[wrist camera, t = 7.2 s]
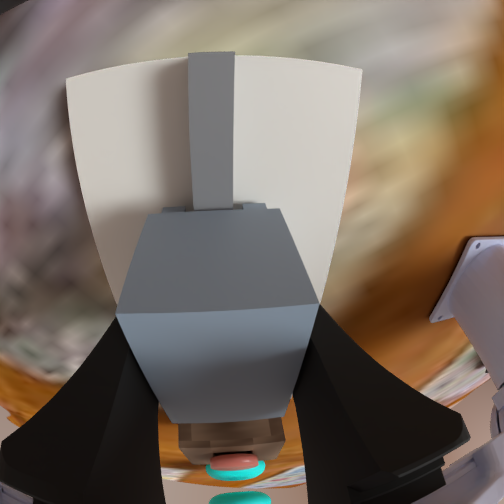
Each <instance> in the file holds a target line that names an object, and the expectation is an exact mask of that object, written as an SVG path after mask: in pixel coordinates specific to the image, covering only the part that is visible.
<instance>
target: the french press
mask: <svg viewBox="0 0 504 504" xmlns="http://www.w3.org/2000/svg"><path fill="white" fill-rule="evenodd" d="M26 1H28V0H0V15H1V14H2V13H4V12H6V11H8V10H10V9H12V8H14V7H16V6H18V5H20V4H22V3H24V2H26Z"/></svg>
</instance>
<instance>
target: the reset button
mask: <svg viewBox="0 0 504 504" xmlns="http://www.w3.org/2000/svg"><path fill="white" fill-rule="evenodd" d="M258 465H259V464H258V457H257V455H254V454H227V455H220V456H215V457H212V458H211V459H210V466H211V469H214V470H220V471H236V470H245V469H250V468H254V467H256V466H258Z"/></svg>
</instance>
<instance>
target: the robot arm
mask: <svg viewBox="0 0 504 504" xmlns="http://www.w3.org/2000/svg"><path fill="white" fill-rule="evenodd" d="M453 317H455V319H456V320H457V322H458V323H459V325H460V327H461V328H462V330H463V331H464V333H465V334H466V336H467V337H468V339H469V341H470V342H471V344H472V345H473V347H474V349H475V350H476V352H477V354H478V355H479V357H480V359H481V361H482V362H483V364H484V366H485V367H486V369H487V371H488V373H489V375H490V377H491V378H492V380H493V382H494V384H495V386H496V388H497V390H499V391H498V392H497V393H496V394H495V395H494V396H493V397H492V399H493V401H494V406H493V409H492V413H491V421H490V431H491V438H492V439H491V440H490V441H489V442H487V443H485V444H484V445H482V446H481V447H479V448H476V449H475V450H473V451H471V452H469V453H468V454H466V455H465V456H463V457H462V458H460V459H458V460H457V461H455V462H454V463H452V464H450V466H449V467H448V468H446V469H445V470H443V471H442V470H441V467H442V466H444V464H445V462H444V459H443V456H444V455H446V454H448V453H450V452H451V451H453V450H455V449H457V448H458V447H460V446H461V445H463V444H464V443H466V442H468V441H469V440H470V435H469V432H468V430H467V427H466V425H465V423H464V421H463V418H462V416H461V414H460V413H458V412H456V411H453V410H451V409H449V408H447V407H445V406H443V405H441V404H439V403H437V402H435V401H433V400H431V399H430V398H428V397H426V396H425V395H423V394H421V393H420V392H418V391H416V390H415V389H413V388H412V387H410V386H409V385H407V384H406V383H404V382H403V381H402V380H400V379H399V378H397V377H396V376H395V375H393V374H392V373H390V372H389V371H388V370H386V369H385V368H384V367H383V366H381V365H380V364H379V363H378V362H376V361H375V360H374V359H373V358H372V357H371V356H369V355H368V354H367V353H366V352H365V351H364V350H363V349H362V348H361V347H360V346H359V345H358V344H356V343H355V342H354V341H353V340H352V339H351V338H350V337H349V336H348V335H347V334H346V333H345V332H344V330H343V329H342V328H341V327H340V326H339V325H338V324H337V323H336V322H335V321H334V320H333V318H332V317H331V316H330V315H329V314H328V313H327V312H326V311H325V309H324V308H323V307H322V306H321V305H320V304H319V307H318V311H317V315H316V318H315V322H314V325H313V329H312V332H311V336H310V339H309V342H308V346H307V349H306V352H305V356H304V359H303V362H302V365H301V368H300V371H299V375H298V378H297V381H296V384H295V387H294V390H293V393H292V395H293V398H294V402H295V406H296V412H297V417H298V423H299V429H300V435H301V442H302V449H303V456H304V464H305V472H306V482H307V492H308V504H497V503H498V502H499V501H500V500H501V499H502V498H503V497H504V236H501V237H473V238H471V239H470V240H469V241H468V243H467V245H466V247H465V249H464V252H463V254H462V256H461V258H460V260H459V262H458V265H457V267H456V269H455V271H454V273H453V275H452V277H451V279H450V281H449V283H448V285H447V287H446V289H445V290H444V292H443V294H442V296H441V298H440V300H439V301H438V303H437V305H436V307H435V308H434V310H433V312H432V314H431V315H430V317H429V320H430V322H431V323H434V322H438V321H442V320H446V319H449V318H453ZM158 404H159V401H158V399H157V397H156V395H155V394H154V392H153V390H152V388H151V386H150V385H149V383H148V381H147V379H146V377H145V375H144V373H143V372H142V370H141V368H140V366H139V364H138V362H137V360H136V358H135V356H134V354H133V352H132V350H131V348H130V345H129V343H128V341H127V339H126V337H125V335H124V333H123V330H122V328H121V326H120V324H119V321H118V319H117V317H115V319H114V320H113V322H112V323H111V325H110V326H109V328H108V329H107V331H106V332H105V334H104V335H103V337H102V338H101V339H100V341H99V342H98V343H97V345H96V346H95V348H94V349H93V350H92V352H91V353H90V354H89V356H88V357H87V358H86V360H85V361H84V362H83V364H82V365H81V366H80V367H79V369H78V370H77V371H76V372H75V373H74V375H73V376H72V377H71V378H70V379H69V380H68V381H67V383H66V384H65V385H64V386H63V387H62V388H61V389H60V390H59V391H58V393H57V394H56V395H55V396H54V397H53V398H52V399H51V400H50V401H49V402H48V403H47V404H46V405H45V406H43V407H42V408H41V409H40V410H39V411H38V412H37V413H36V414H35V415H34V416H33V417H32V418H31V419H30V420H28V421H27V422H26V423H25V424H24V425H22V426H21V427H20V428H18V429H17V430H16V431H15V432H13V433H12V434H11V435H10V436H8V437H7V438H6V439H4V440H3V441H2V443H1V448H0V504H166V502H165V496H164V490H163V484H162V476H161V467H160V456H159V441H158ZM27 495H28V496H27ZM30 496H31V497H30ZM32 497H33V498H32Z"/></svg>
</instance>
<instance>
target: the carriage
mask: <svg viewBox="0 0 504 504" xmlns="http://www.w3.org/2000/svg"><path fill="white" fill-rule="evenodd" d="M319 304H320V303H319V301H318V298H317V296H316V293H315V291H314V288H313V286H312V283H311V281H310V278H309V276H308V274H307V271H306V269H305V266H304V264H303V261H302V259H301V257H300V254H299V252H298V250H297V247H296V245H295V243H294V240H293V238H292V236H291V233H290V231H289V229H288V226H287V224H286V222H285V219H284V217H283V215H282V213H281V210H280V208H274V209H267V207H266V204H265V203H246V204H242V209H238V210H212V211H192V212H186V208H185V206H178V207H163V209H162V212H161V213H158V214H148V216H147V218H146V221H145V224H144V226H143V229H142V232H141V234H140V237H139V240H138V243H137V246H136V248H135V251H134V254H133V257H132V260H131V263H130V266H129V269H128V272H127V275H126V279H125V282H124V285H123V288H122V292H121V295H120V298H119V302H118V305H117V309H116V312H115V314H116V317H117V319H118V321H119V324H120V326H121V328H122V330H123V333H124V335H125V337H126V339H127V341H128V343H129V345H130V348H131V350H132V352H133V354H134V356H135V358H136V360H137V362H138V364H139V366H140V368H141V370H142V372H143V373H144V375H145V377H146V379H147V381H148V383H149V385H150V386H151V388H152V390H153V392H154V394H155V395H156V397H157V399H158V401H159V402H160V404H161V406H162V407H163V409H164V411H165V412H166V414H167V416H168V417H169V419H170V421H171V422H172V423H221V422H237V421H249V420H260V419H269V418H277V417H284V415H285V412H286V410H287V407H288V404H289V401H290V398H291V395H292V393H293V390H294V387H295V384H296V381H297V378H298V375H299V371H300V368H301V365H302V362H303V359H304V356H305V352H306V349H307V346H308V342H309V339H310V336H311V332H312V329H313V325H314V322H315V318H316V315H317V311H318V307H319Z"/></svg>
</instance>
